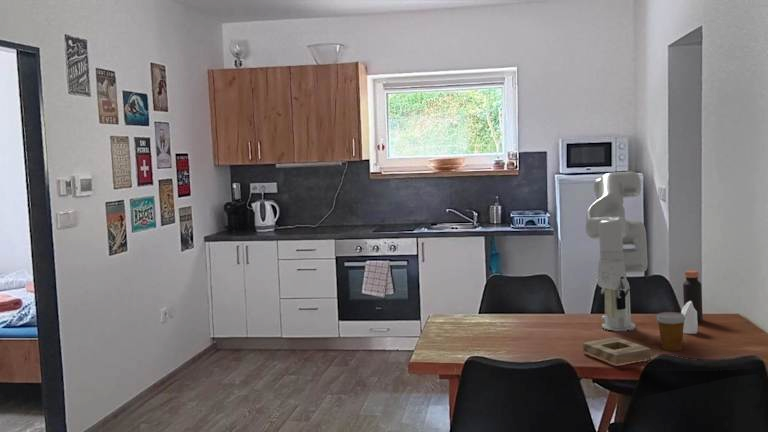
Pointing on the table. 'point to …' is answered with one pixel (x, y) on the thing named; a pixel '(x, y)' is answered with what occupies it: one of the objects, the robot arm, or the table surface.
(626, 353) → the socket block
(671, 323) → the disposable coffee cup
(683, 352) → the table surface
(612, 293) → the skincare box
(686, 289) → the bottle
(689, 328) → the white house shaped block
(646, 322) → the table surface
